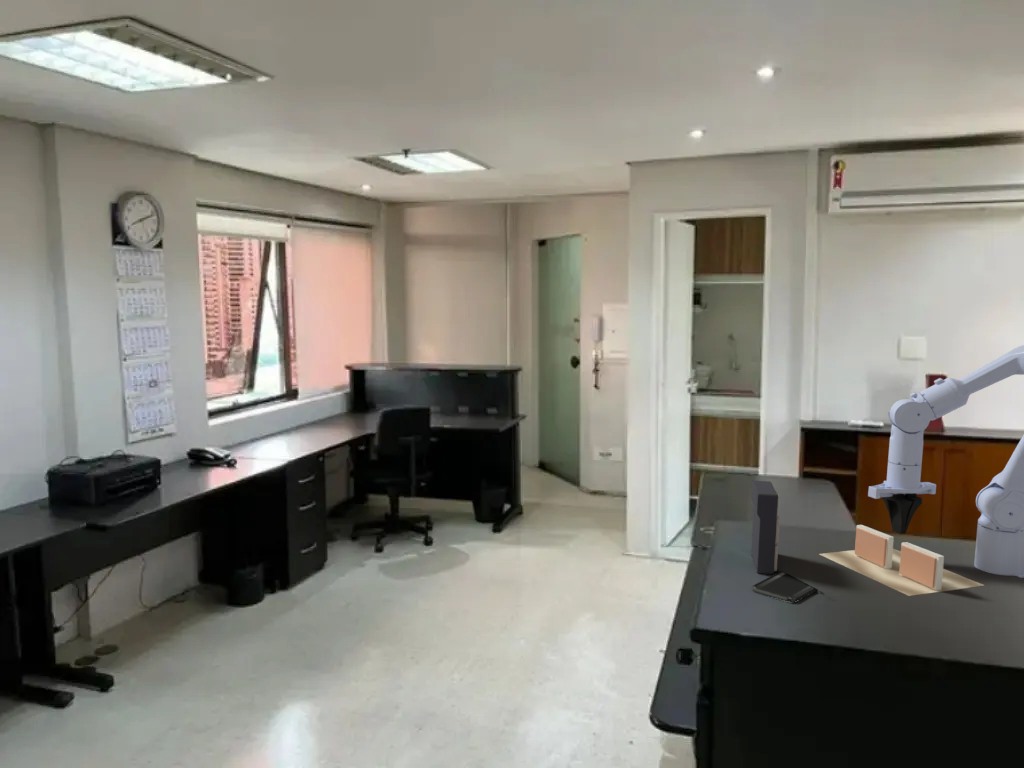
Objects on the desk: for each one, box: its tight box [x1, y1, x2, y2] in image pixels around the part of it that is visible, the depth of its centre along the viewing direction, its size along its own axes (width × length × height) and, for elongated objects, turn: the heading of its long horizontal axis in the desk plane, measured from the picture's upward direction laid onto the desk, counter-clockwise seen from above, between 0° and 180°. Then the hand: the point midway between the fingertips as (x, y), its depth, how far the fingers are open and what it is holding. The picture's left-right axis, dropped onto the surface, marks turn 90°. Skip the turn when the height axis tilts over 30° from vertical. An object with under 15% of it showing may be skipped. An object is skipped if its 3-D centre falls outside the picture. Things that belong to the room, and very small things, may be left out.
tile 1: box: [854, 524, 895, 569], centre depth 147 cm, size 2×8×6 cm, turn 19°
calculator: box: [750, 480, 781, 575], centre depth 146 cm, size 11×4×15 cm, turn 168°
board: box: [818, 548, 985, 597], centre depth 144 cm, size 17×22×1 cm
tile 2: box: [899, 541, 945, 591], centre depth 136 cm, size 2×8×6 cm, turn 19°
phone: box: [752, 570, 819, 602], centre depth 136 cm, size 8×1×15 cm
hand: (899, 532), depth 149 cm, fingers closed
